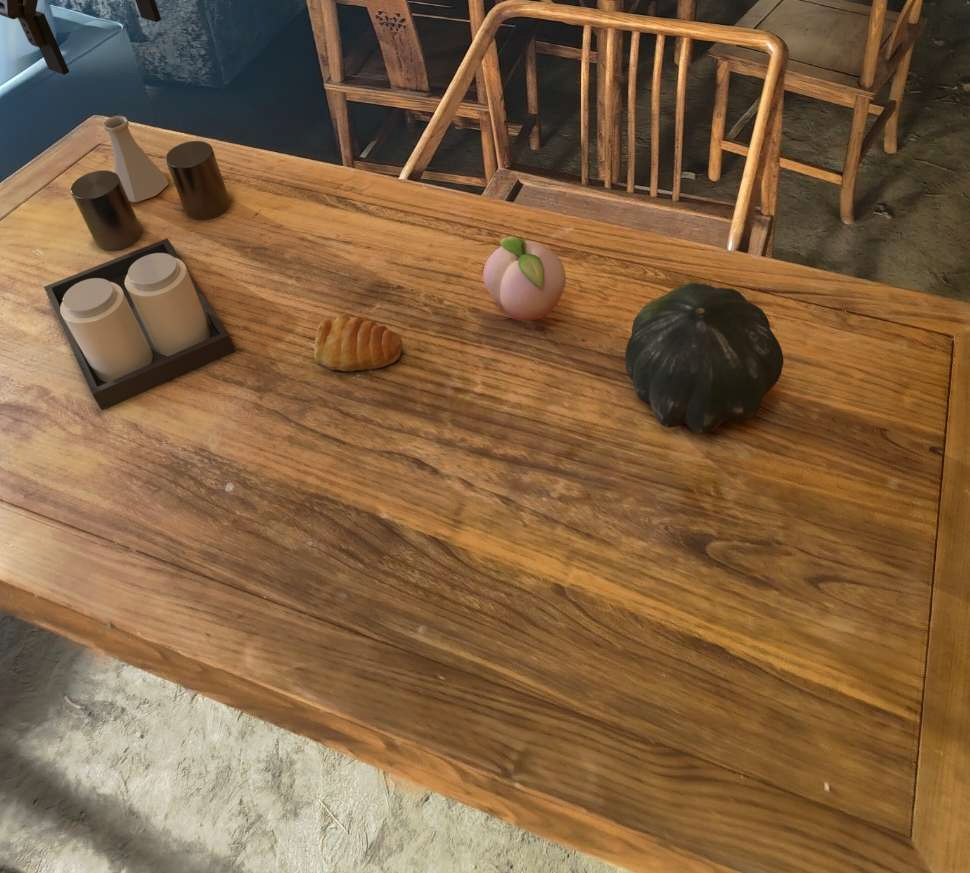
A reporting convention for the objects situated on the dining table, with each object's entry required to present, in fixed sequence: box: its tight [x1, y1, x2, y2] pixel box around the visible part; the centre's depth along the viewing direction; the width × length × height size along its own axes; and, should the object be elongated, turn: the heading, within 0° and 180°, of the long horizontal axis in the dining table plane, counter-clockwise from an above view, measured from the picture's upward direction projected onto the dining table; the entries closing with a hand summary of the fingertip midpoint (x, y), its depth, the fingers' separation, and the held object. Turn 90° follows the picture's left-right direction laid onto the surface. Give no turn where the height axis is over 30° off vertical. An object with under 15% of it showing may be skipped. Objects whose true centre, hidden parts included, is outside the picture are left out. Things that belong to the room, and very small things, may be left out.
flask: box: [101, 115, 170, 203], centre depth 124 cm, size 7×7×10 cm
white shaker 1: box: [60, 278, 153, 383], centre depth 100 cm, size 7×7×10 cm
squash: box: [624, 282, 784, 435], centre depth 90 cm, size 14×15×15 cm
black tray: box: [43, 237, 236, 411], centre depth 108 cm, size 22×16×3 cm
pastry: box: [313, 314, 403, 372], centre depth 101 cm, size 9×7×4 cm
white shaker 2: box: [125, 253, 211, 356], centre depth 102 cm, size 7×7×10 cm
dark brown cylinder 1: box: [70, 169, 143, 252], centre depth 118 cm, size 6×6×8 cm
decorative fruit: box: [482, 236, 567, 322], centre depth 101 cm, size 9×8×10 cm
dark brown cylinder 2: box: [165, 140, 231, 221], centre depth 121 cm, size 6×6×8 cm
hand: (106, 44), depth 106 cm, fingers open, 13 cm apart
